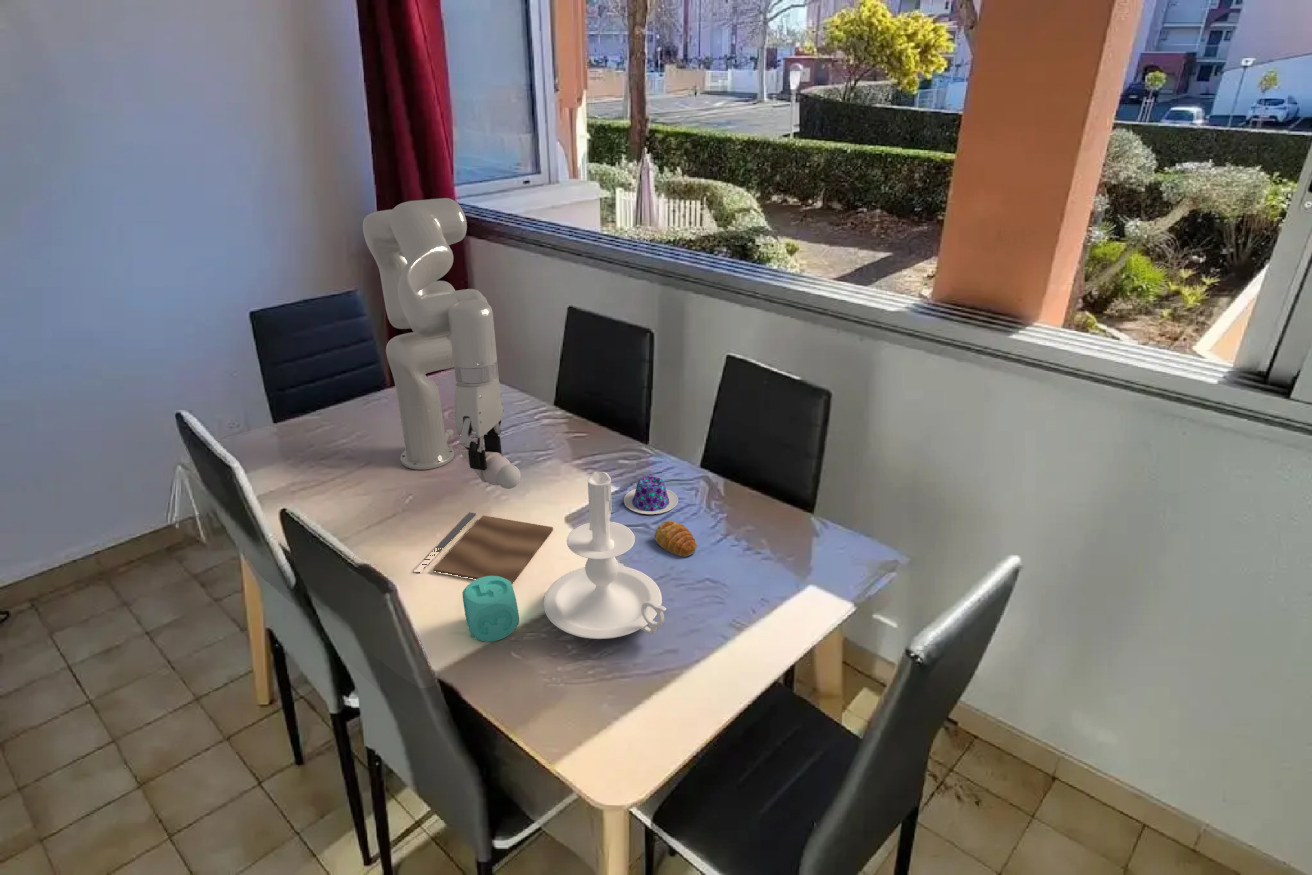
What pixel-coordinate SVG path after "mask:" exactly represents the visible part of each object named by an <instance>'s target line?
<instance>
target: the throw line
mask: <svg viewBox="0 0 1312 875" xmlns="http://www.w3.org/2000/svg"><path fill="white" fill-rule="evenodd" d="M476 515H477V513H475V512H468V514H466V515H465V516H464V518H462V520H461V521H459V523H458V524H457V525H456V526H454V528H453V529H452V530H451V531H450V532H449V533H448V534H447V535H446V536H445V537H444V538H443V539H442V540H441V541H440V542H439V543H438V544H437V545H436V546H435V548H437V551H436V552H440V551H441V550H442V548H444V547H445V546H446V545H447V544H448V543H449V542H450V541H452V540H453V539H455V537H456V536H458V534H459V533H460V532H461V531H462V530H463V529H464V528H465V527H466V526H467V525H466V524H467V523H468V522H469V523H470V521H472V519H474V517H475V516H476ZM469 523H468V524H469ZM464 526H465V527H464ZM463 527H464V528H463ZM462 528H463V529H462ZM460 530H461V531H460ZM451 539H452V540H451ZM450 543H451V542H450ZM450 543H449V544H450ZM449 544H448V545H449ZM448 545H447V546H448ZM447 546H446V547H447ZM446 547H445V548H446ZM435 548H433V550H434V552H435ZM438 548H439V550H438ZM440 548H441V549H440ZM445 548H444V549H445ZM433 550H431V552H433ZM442 551H443V550H442ZM442 551H441V552H442ZM441 552H440V553H441ZM427 556H429V554H428V555H427ZM430 556H431V555H430ZM432 556H433V555H432ZM434 556H435V554H434ZM423 560H430V559H425V558H424V559H423ZM422 565H427V564H422Z"/></svg>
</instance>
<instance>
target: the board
mask: <svg viewBox="0 0 1312 875" xmlns="http://www.w3.org/2000/svg"><path fill="white" fill-rule="evenodd" d="M553 530H554V527H553V526H548V525H541V524H537V523H531V522H530V523H529V522H524V521H518V520H512V519H508V518H507V519H506V518H501V517H494V516H489V515H483V514H482V515H481V517H480V518H478V520H477V521H476V522H475V523H474V524H473V526H471V527H470V528H469V530H468V531H467V532H466V533H465V534H464V535H463V536H462V537H461V538H460V540H459V541H458V542H456V544H455V545H454V546H453V547H452V548H451V549H450V550H448V552H447V554H446V555H444V556H443V557H442V558H441V560H440V561H438V563H437V564H436V565H435V566H434V567H433V568H432V571H436V572H441V573H448V574H452V575H458V576H461V577H468V578H473V579H478V578H481V577H485V576H499V577H503V578H505V579H507V580H509V581H510V582H511V584H512V585H513V584H514V583H515V581H516V580H517V579H518V577H519V576H520V575H521V574H522V572H523V571H524V570H525V569H526V567H527V566H528V564H529V563H530V562H531V560H532V559H533V558H534V557H535V555H536V554H537V552H538V551H539V550H540V548H541V547H542V546H543V544H544V543H545V542H546V540H547V539H548V538H549V537H550V535H551V534H552V533H553ZM513 582H514V583H513Z"/></svg>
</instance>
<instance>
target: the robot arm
mask: <svg viewBox="0 0 1312 875" xmlns="http://www.w3.org/2000/svg"><path fill="white" fill-rule="evenodd" d="M466 218H467V217H466V215H465V213H464V211H463V209H462V207H461V205H460V204H459V203H458V202H457V201H456V200H454V199H452V198H449V197H443V198H441V197H440V198H429V199H419V200H408V201H405V202H401V203H399V204H397V205H396V206H395V207H394V208H392V209H384V210H379V211H375V212H371V213H369V214H367V215H366V216H365V217H364V219H363V222H362V233H363V237H364V240H365V244H366V246H367V248H368V250H369V252H370V253H371V255H372V256H373V258H374V260H375V263H376V265H377V267H378V271H379V274H380V281H381V282H380V284H381V288H382V294H383V301H384V306H385V311H386V315H387V319H388V321H389V323H390V324H391V326H392V327H393V328H395V329H399V330H407V329H411V330H412V332H407V333H403V334H398V335H396V336H394V337H392V338H391V339H390V340H388V342H387V344H386V348H385V352H386V353H385V354H386V358H387V363H388V365H389V368H390V371H391V373H392V378H393V381H394V382H393V383H394V386H395V390H396V391H395V392H396V396H397V402H398V408H399V409H398V410H399V415H400V420H401V421H400V422H401V428H402V434H403V440H404V448H405V449H404V451H403V452H401V454H400V463H401V465H402V466H404V467H406V468H409V469H412V470H422V471H423V470H431V469H432V470H433V469H436V468H439V467H442V466H444V465H446V464H448V463H449V462H451V461H452V460H453V459H454V456H455V451H454V448H453V447H452V446H451V445H449V444H448V441H449V439H450V438H451V437H452V436H454V431H453V429H452V428H447V429H446V430H445V424H444V417H443V412H442V411H443V410H442V401H441V394H440V393H441V392H440V388H439V387H438V386H437V384H436V383H435V382H434V381H433V380H432V379H431V378H430V377H428V376H427V375H426V374H428V373H432V372H437V371H443V370H448V369H453V368H454V376H455V377H454V378H455V382H456V384H455V386H454V388H455V389H454V419H455V420H454V421H455V429H456V433H457V435H458V436H460V437H459V445H461V446H463V447H464V448H465V450H467V451H468V455H469V463H470V465H469V467H470V469H472V470H473V469H478V470H486V469H487V464H486V455H485V452H497V453H500V454H501V455H503V452H502V444H501V443H502V442H501V436H500V435H501V434H502V430H501V424H502V419H503V417H504V404H503V396H502V388H501V384H500V380H499V377H500V376H499V375H500V374H499V366H498V357H497V345H496V344H497V343H496V333H495V324H494V321H495V320H494V311H493V309H492V306H491V305H490V304H489V302H488V299H487V298H486V296H484V295H483V294H482V292H481V291H479V290H478V289H474V288H467V289H465V288H464V289H459V290H456V289H455V288H454V286H453V285H452V284H451V283H449V282H448V281H445V280H440V279H441V278H443V277H444V276H445V275H446V274H447V273H449V271H450V269H451V268H452V267H453V263H454V254H453V250H452V249H451V247H450V246H451V245H453V244H457V243H458V242H461V241H462V240H463V239H465V237H466V235H467V231H468V230H467V229H468V225H467V224H468V222H467V219H466ZM473 438H474V439H476V440H477V442H476V441H473ZM483 448H484V449H483ZM469 463H468V464H469Z"/></svg>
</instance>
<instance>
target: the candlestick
mask: <svg viewBox="0 0 1312 875" xmlns="http://www.w3.org/2000/svg"><path fill="white" fill-rule="evenodd" d="M611 480H612V478H611V476H610V475H609V473H607V472H606V471H594V472H592V473H591V474H590V475H589V477H588V478H587V496H588V518H589V521H588V522H587V523H584V524H581V525H578V526H577V527H575V528H574V529H573V530H571V531H570V533H568V536H567V537H566V545H567V547H568V549H569V550H570V551H571V552H572V553H574V554H575V555H578V557H582V558H585V559H587V560H586V563H585V566H583V567H580V568H576V569H575V570H572V571H570V572H568V573H565V574H563V575H562V576H560V577H558V579H556V580H555V581H554V582H552V583H551V585H550V586H549V588H548V589H547V591H546V592H545V595H544V598H543V610H544V612H545V615H546V617H547V619H548V620H549V621H550V622H551V623H552V624H553V625H554V626H555V627H557V628H558V629H559V630H561V631H563V632H565V633H567V634H569V635H572V636H574V637H579V638H584V639H591V640H592V639H593V640H595V639H596V640H603V639H604V640H607V639H614V638H620V637H623V636H627V635H630V634H633V633H635V632H637V631H639V630H642V631H643V632H645V633H646V634H649V635H653V634H655V633H656V632H657V630H658V628H659V627H661V626H662V625H663V624H665V615H664V612H665V611H666V610H667V608H666V607H665V606H663V605H662V601H663V599H662V591H661V590H660V588H659V586H658V584H657V583H656V582H655V581H654V580H653V578H651V577H650V576H648V575H647V574H645V573H643V572H642V571H640V570H638V569H635V568H632V567H628V566H624V565H619V562H618V560H617V559H616V557H619V556H621V555H623V554H625V553H627V552H628V551H629V550H631V549H632V547H633V546H634V544H635V540H636V537H635V534H634V532H633V531H632V529H630V528H629V527H628V526H626V525H624V524H622V523H618V522H613V521H610V519H611V518H612V511H613V509H612V508H613V507H612V481H611ZM656 616H657V618H658V621H655V620H654V619H655V618H656ZM647 625H648V626H647Z"/></svg>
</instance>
